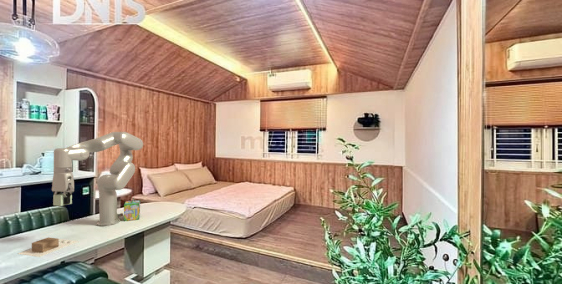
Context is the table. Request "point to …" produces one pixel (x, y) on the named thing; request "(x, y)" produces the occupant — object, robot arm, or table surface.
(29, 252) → the snap baseplate
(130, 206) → the chalk box
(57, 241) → the walnut block
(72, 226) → the table surface
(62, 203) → the sage block
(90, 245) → the table surface
